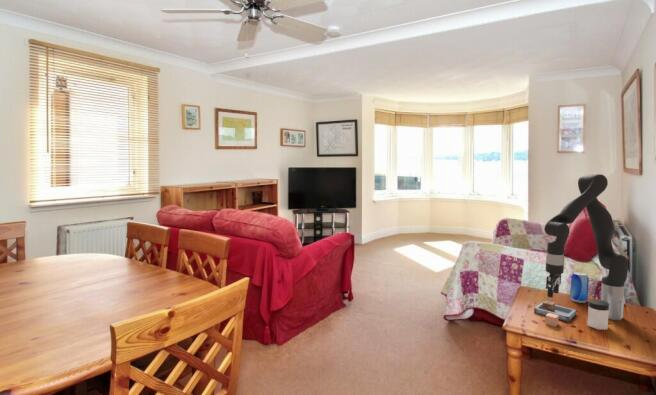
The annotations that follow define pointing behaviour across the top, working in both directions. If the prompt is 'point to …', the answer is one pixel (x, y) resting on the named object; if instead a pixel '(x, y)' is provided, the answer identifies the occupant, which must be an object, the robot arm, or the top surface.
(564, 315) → the tray
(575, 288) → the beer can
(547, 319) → the block terracotta
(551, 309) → the block walnut
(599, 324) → the jar
